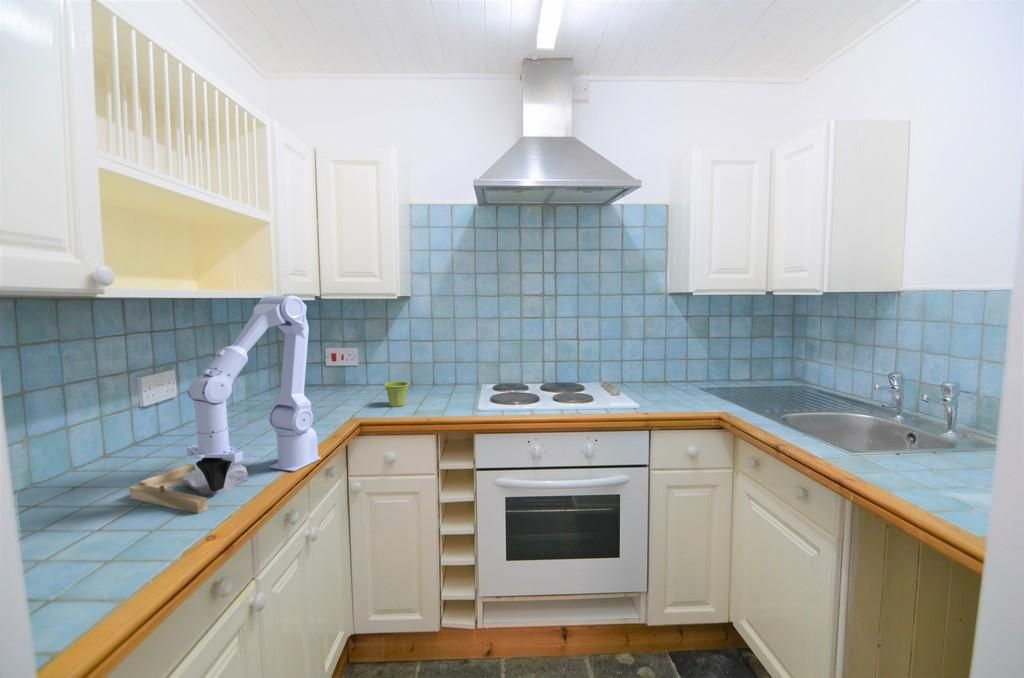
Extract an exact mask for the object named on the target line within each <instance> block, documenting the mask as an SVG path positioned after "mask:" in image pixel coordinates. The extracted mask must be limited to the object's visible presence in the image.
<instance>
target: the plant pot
mask: <svg viewBox="0 0 1024 678" xmlns="http://www.w3.org/2000/svg"><path fill="white" fill-rule="evenodd" d="M409 384H410V383H409V382H407V381H391V382H386V383H384V386H385V390H386V393H387V398H388V406H389V407H393V408H394V407H395V408H399V407H404V406H405V405H406V401H407V400H406V399H407V392H408V391H407V390H408V388H409V387H408V386H409Z"/></svg>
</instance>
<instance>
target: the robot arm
mask: <svg viewBox="0 0 1024 678" xmlns="http://www.w3.org/2000/svg"><path fill="white" fill-rule="evenodd" d="M307 307H308V306H307V304H306V303H304V302H303V301H302V299H301V298H300V297H298V296H296V295H265V296H263V297H262V298H261V299H260V300H259V302H258V303H257V304H256V305H255V306H254V307H253V314H252V315H251V317H250V318H249V320H248V321H247V323H246V324H245V325H244V327H243V329H242V330H241V331H240V333H239V335H238V336H237V337H236V339H235V340H234V342H233V343H232V345H230V346H229V345H227V346H224V347H222V349H218V350H217V351H216V352H215V355H216V357H215V358H213V360H212V361H211V363H210V364H209V365H208V366H207V368H204V369H203V370H202V375H199V376H197V377H195V378H193V380H192V381H191V382H190V385H189V388H188V389H187V390H186V395H187V397H188V398H189V399H190V400H192V402H193V408H194V414H195V415H194V417H195V426H196V427H195V428H196V440H197V444H192V445H190V446H187V447H186V454H187V456H189V457H192V456H193V459H197V460H198V461H196V462H195V465H196V466H197V468H199V469H200V470H201V471H202V473H203V474H204V476H205V478H206V480H207V482H208V485H209V487H210V490H211V491H214V492H216V491H218V490H220V489H223V488H224V483H225V479H226V475H227V471H228V469H229V467H230V465H232V464H237V463H239V462H241V461H243V460H244V452H243V451H241V450H238V449H236V448H234V447H233V446H232V445H230V438H229V424H228V422H229V421H228V409H227V399H229V397H230V396H231V395H232V390H233V386H232V385H233V383H234V381H235V379H236V378H237V377H238V376H239V374H240V372H241V371H242V370H243V368H244V367H245V366H246V364H247V363H248V361H249V358H248V352H250V350H251V348H253V346H254V345H255V344H256V343H257V342H258V340H259V339H261V337H262V336H263V335H264V334H265V332H266V331H267V330H268V329H269V328H272V327H274V326H275V327H276V326H277V327H278V329H280V330H281V332H283V333H284V344H283V354H282V355H283V356H282V367H281V382H280V394H279V395H278V396H277V397H276V398H275V399H274V400H273V402H272V403H273V405H272V408H271V410H270V412H269V415H268V422H269V424H270V426H271V427H272V428H274V432H275V433H276V435H275V436H276V449H277V450H276V451H277V462H276V463H274V464H272V465H270V466H269V467H270V468H271V469H276V470H282V471H288V472H296V471H298V470H300V469H302V468H304V467H307V466H309V465H311V464H312V463H315V462H317V461H319V460H321V459H322V458H321V457H320V456H319V449H318V436H317V432H316V431H315V429H314V428H313V427H311V426H312V424H313V422H314V421H313V420H314V414H313V412H312V402H311V401H310V400H309V399H308V398H307V397H306V395H305V385H306V383H305V382H306V374H307V373H306V372H307V370H306V369H307V360H308V359H307V358H308V344H309V331H310V328H309V323H308V319H307ZM200 459H201V460H200Z"/></svg>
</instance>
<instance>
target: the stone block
mask: <svg viewBox="0 0 1024 678" xmlns="http://www.w3.org/2000/svg"><path fill="white" fill-rule="evenodd" d="M248 474H249V473H248V470H247V468H246V466H244V465H242V464H240V463H238V464H237V463H231V465H230V467H229V469H228V471H227V475H226V479H225V483H224V488H223V489H220V490H218V491H216V492H214V491H211V490H210V487H209V485H208V482H207V480H206V478H205V476H204V474H203V473H202V471H201V470H200V469H199V467H197V468H195V470H193V471H192V472H190V473H189V474H187V475H185V477H184V478H183V482H182V483H183V484H184V485H186V486H187V487H189V488H190V489H193V490H194V491H195V492H198V494H199V493H200V494H201V495H219V494H221V493H224V492H227V491H229V490H231V489H233V488H234V487H236V486H239V485H241V484H243V483H245V482H247V481H248V479H249V478H248Z"/></svg>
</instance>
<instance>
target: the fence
mask: <svg viewBox="0 0 1024 678" xmlns="http://www.w3.org/2000/svg"><path fill="white" fill-rule="evenodd" d="M195 465H196V464H191V463H188V464H185V465H183V466H180V467H177V468H174V469H171V470H168V471H165V472H162V473H160V474H156V475H154V476H152V477H149V478H146V479H144V480H140V481H138V482H139V483H138V484H136V485H133V486H129V487H128V489H129V490H128V491H129V497H130V498H129V499H131V500H136V501H140V502H144V503H149V504H152V505H153V504H154V505H159V506H161V507H162V506H163V507H166V508H172V509H176V510H179V511H180V510H181V511H185V512H190V513H193V514H200V513H203V512H204V511H206V510H208V498H207V497H205V496H200V495H196V494H190V493H185V492H179V491H175V490H172V489H171V490H170V489H168V488H170V487H173V486H176V485H179V484H181V483H183V478H184V477H185V475H187V474H189V473H190V472H192V471H193V470H196V466H195Z"/></svg>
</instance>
